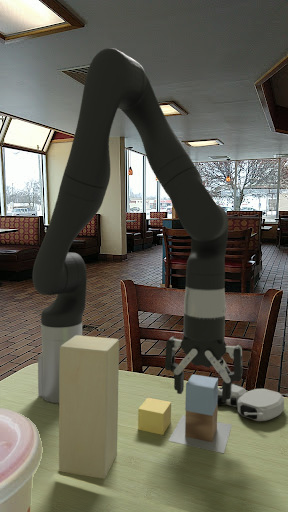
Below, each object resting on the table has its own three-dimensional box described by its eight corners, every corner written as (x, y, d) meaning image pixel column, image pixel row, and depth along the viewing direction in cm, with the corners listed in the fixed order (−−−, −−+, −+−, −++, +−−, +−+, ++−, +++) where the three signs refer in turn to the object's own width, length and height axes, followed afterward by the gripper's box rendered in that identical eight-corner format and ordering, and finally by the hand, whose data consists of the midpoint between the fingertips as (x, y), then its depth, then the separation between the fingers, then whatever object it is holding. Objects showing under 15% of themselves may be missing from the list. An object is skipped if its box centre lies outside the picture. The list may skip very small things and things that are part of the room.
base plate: (168, 444, 68) (168, 440, 68) (182, 418, 78) (182, 415, 78) (223, 457, 65) (223, 453, 65) (231, 428, 74) (231, 424, 74)
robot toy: (202, 412, 83) (265, 434, 72) (201, 391, 83) (265, 411, 72) (232, 394, 91) (293, 412, 81) (231, 376, 91) (292, 391, 80)
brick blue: (185, 410, 69) (185, 384, 69) (191, 398, 74) (192, 374, 74) (212, 415, 68) (213, 388, 67) (217, 403, 72) (218, 378, 72)
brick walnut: (185, 436, 70) (185, 410, 69) (191, 423, 74) (192, 398, 74) (211, 442, 68) (212, 415, 68) (216, 428, 73) (217, 403, 72)
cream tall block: (119, 455, 65) (120, 337, 63) (106, 483, 58) (106, 351, 56) (76, 448, 67) (76, 333, 65) (58, 475, 60) (57, 346, 58)
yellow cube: (138, 433, 72) (138, 408, 72) (147, 421, 77) (147, 397, 76) (162, 439, 70) (163, 413, 70) (170, 426, 75) (171, 402, 75)
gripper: (161, 312, 68) (159, 398, 70) (241, 319, 63) (238, 412, 65) (173, 304, 75) (171, 382, 77) (246, 310, 70) (243, 394, 72)
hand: (202, 396), depth 71 cm, fingers open, 8 cm apart
